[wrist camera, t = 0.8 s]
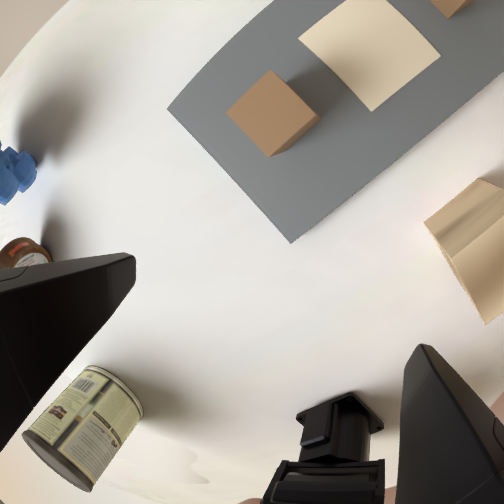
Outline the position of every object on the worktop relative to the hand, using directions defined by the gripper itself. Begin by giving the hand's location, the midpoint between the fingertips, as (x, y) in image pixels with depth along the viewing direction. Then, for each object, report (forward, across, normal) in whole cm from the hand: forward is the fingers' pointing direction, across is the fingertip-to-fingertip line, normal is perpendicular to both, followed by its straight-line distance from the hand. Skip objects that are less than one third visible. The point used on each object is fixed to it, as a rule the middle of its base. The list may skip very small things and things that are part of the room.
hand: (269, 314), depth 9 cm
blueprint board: (+12, -1, -11) cm, 17 cm away
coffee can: (+13, +18, +30) cm, 37 cm away
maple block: (+12, -11, -2) cm, 16 cm away
